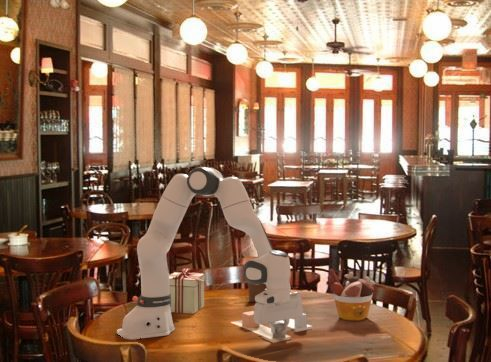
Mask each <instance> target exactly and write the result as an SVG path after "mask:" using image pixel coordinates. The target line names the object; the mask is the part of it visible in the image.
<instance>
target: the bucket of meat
mask: <svg viewBox="0 0 491 362" xmlns="http://www.w3.org/2000/svg"><path fill="white" fill-rule="evenodd" d="M343 277H344V278H346V279H345V280H344V281H342V284H341V282H340V280H339V278H338V276H337V274H336V273H335V271H334V269H332V268H330V269H329V275H328V276H327V280H328V282H329V288H330V290H331V292H333V293H332V294H333V299H334V303H335V306H336V311H337V316H338V317H339V318H340V319H341V320H343V321H347V322H348V321H349V322H359V321H360V320H361V321H364V320H365V319H366V318H367V317H368V316H369V312H370V309H371V303H372V299H373V295H374V292H375V287H374V285H375V284H376V282H375V280H371V278H370V277H369V276H365V277H364V278H365V279H364V278H359V276H358V275H357V276H354V272H353V271H350V272H349V273H347V274H344V276H343Z"/></svg>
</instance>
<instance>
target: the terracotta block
mask: <svg viewBox="0 0 491 362" xmlns="http://www.w3.org/2000/svg"><path fill="white" fill-rule="evenodd" d="M241 320H242V325H243V326H245V327H247V328H253V327H258V326H260V325H261V324H257V323H256V322H255V321H254V310H250V311H245V312H241Z"/></svg>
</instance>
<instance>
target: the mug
mask: <svg viewBox="0 0 491 362" xmlns="http://www.w3.org/2000/svg"><path fill="white" fill-rule="evenodd" d="M266 288H267V286H266V284H258V285H253V284H250V283H248V301H249V302H250V303H253V304H254V303H255V304H256V303H257V302H256V301H255V296H256V295H258V294H260V293H262V292H263V291H265V290H266Z"/></svg>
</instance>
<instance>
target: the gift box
mask: <svg viewBox="0 0 491 362" xmlns="http://www.w3.org/2000/svg"><path fill="white" fill-rule="evenodd" d="M191 270H192V268H182V269H181V272H175V271H174V272H173V273H169V285H170V294H171V307H170V308H171V313H178V314H179V313H180V314H196V313H197V312H199V311H200V310H201V309H203V308H204V307H205V282H206V272H203V273H202V272H201V273H200V272H190V271H191Z"/></svg>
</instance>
